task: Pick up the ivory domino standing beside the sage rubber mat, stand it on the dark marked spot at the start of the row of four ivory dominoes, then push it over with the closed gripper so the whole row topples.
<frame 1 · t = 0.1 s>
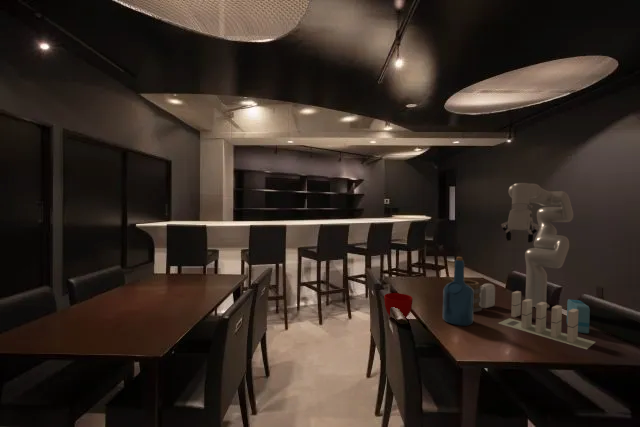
hand: (519, 241, 160), 37 cm above the table, tool pointing down, fingers open, 9 cm apart
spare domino: (515, 316, 156), on the table
photo printer: (486, 306, 171), on the table
ceramic cup: (397, 316, 152), on the table
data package: (577, 329, 140), on the table
domino mat: (543, 332, 135), on the table
wine bottle: (457, 322, 147), on the table
domino 4: (555, 335, 132), resting on domino mat
domino 2: (526, 327, 141), resting on domino mat
domino 3: (540, 331, 136), resting on domino mat
tankard: (460, 306, 170), on the table
domino 5: (572, 340, 127), resting on domino mat
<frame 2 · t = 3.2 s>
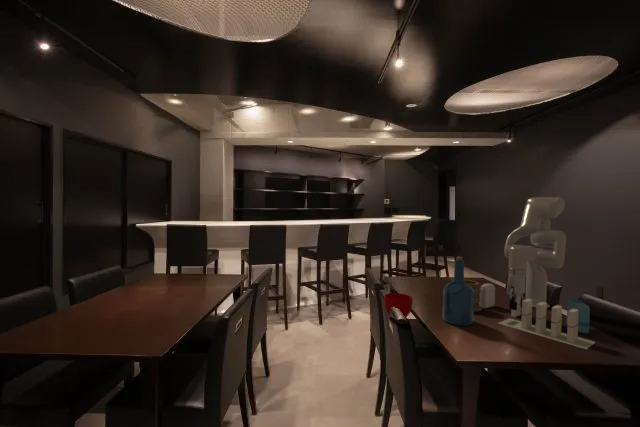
hand: (516, 307, 156), 4 cm above the table, tool pointing down, fingers closed on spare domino, 6 cm apart
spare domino: (515, 316, 156), on the table, touching gripper
everything else where it was.
when the fingers open (6 cm above the table, at t = 9.6 s): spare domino drops 1 cm, resting on domino mat.
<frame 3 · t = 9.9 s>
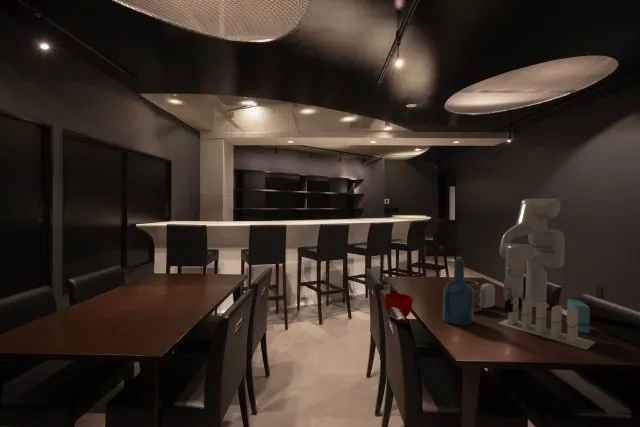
hand: (513, 309, 145), 7 cm above the table, tool pointing down, fingers open, 9 cm apart
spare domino: (512, 323, 145), resting on domino mat
everything else where it was.
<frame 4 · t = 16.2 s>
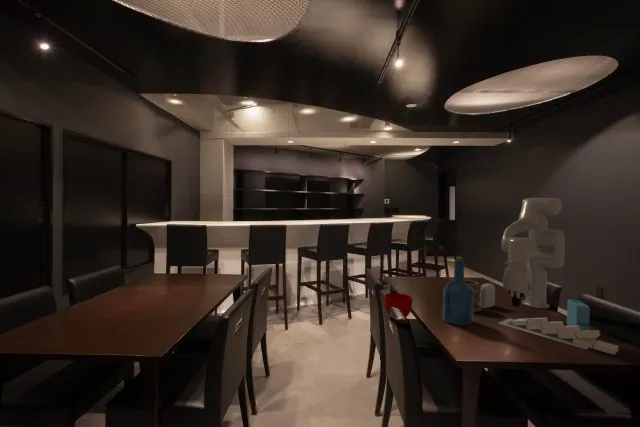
hand: (515, 306, 144), 9 cm above the table, tool pointing down, fingers closed
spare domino: (515, 322, 144), point 1 cm above the table, tilted 71°, touching domino 2, domino mat
domino 4: (561, 334, 130), point 1 cm above the table, tilted 71°, touching domino 3, domino 5
domino 2: (529, 326, 140), point 1 cm above the table, tilted 71°, touching domino 3, domino mat, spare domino
domino 3: (543, 330, 135), point 1 cm above the table, tilted 71°, touching domino 2, domino 4, domino mat
domino 5: (575, 338, 126), point 1 cm above the table, tilted 90°, touching domino 4, domino mat
everything else where it was.
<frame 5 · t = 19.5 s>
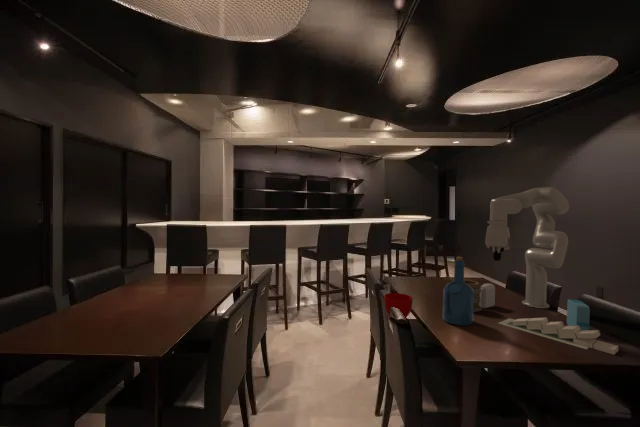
hand: (497, 260, 157), 27 cm above the table, tool pointing down, fingers closed
nothing on the table moved.
at the end: domino 5 tilted 90°; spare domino tilted 71°; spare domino inside the target area (1.4 cm from its centre), point 1.3 cm above the table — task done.
